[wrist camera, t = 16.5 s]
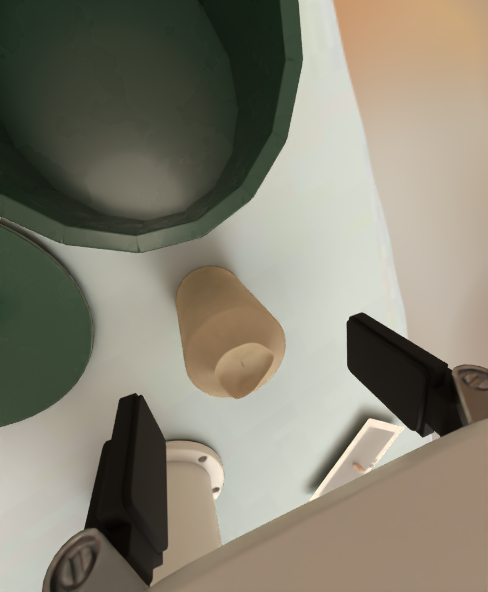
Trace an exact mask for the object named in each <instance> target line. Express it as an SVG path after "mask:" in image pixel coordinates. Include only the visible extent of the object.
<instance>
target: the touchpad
mask: <svg viewBox="0 0 488 592" xmlns="http://www.w3.org/2000/svg"><path fill="white" fill-rule="evenodd" d="M403 429H404V427H401V426H398V425H394V424H390V423H386V422H383V421H379V420H375V419H371V418H369V419H368V420H367V422H366V423H365V425H364V426H363V427H362V429H361V430H360V431H359V433H358V434H357V435H356V437H355V438H354V440H353V441H352V442H351V444H350V445H349V446H348V448H347V449H346V450H345V452H344V453H343V455H342V456H341V457H340V459H339V460H338V461H337V463H336V464H335V465H334V467H333V468H332V470H331V471H330V472H329V474H328V475H327V476H326V478H325V479H324V480H323V482H322V483H321V485H320V486H319V487H318V489H317V490H316V491H315V493H314V494H313V495H312V497H311V498H310V500H309V501H308V502H310V501H312V500H314V499H316V498H318V497H320V496H322V495H324V494H326V493H328V492H330V491H332V490H334V489H336V488H338V487H340V486H342V485H344V484H346V483H348V482H350V481H352V480H354V479H356V478H358V477H360V476H362V475H364V474H366V473H368V472H370V471H371V470H372V469H373V467H374V466H375V465H376V464H377V462H378V461H379V460H380V458H381V457H382V456H383V454H384V453H385V452H386V451H387V449H388V448H389V447H390V445H391V444H392V443H393V442H394V440H395V439H396V438H397V436H398V435H399V434H400V432H401V431H402V430H403ZM308 502H307V503H308Z"/></svg>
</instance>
